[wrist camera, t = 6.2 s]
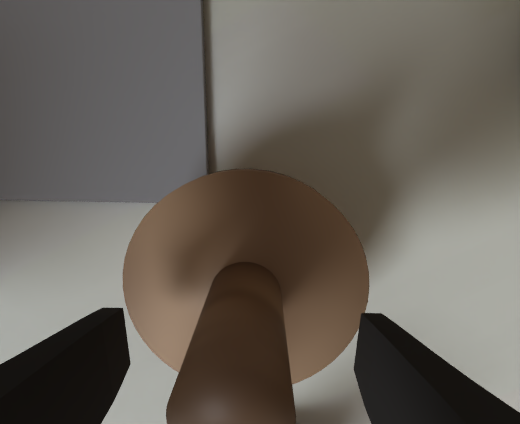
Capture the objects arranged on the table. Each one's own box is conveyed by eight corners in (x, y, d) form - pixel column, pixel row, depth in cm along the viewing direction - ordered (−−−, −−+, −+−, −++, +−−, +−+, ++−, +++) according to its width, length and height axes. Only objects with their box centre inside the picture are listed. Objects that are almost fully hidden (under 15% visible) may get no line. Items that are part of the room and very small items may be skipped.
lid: (154, 380, 12) (69, 566, 6) (110, 177, 9) (-74, 220, 4) (358, 369, 11) (437, 554, 6) (364, 159, 9) (494, 179, 4)
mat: (-78, 196, 13) (-89, 198, 12) (-201, -195, 9) (-222, -210, 9) (209, 201, 13) (207, 203, 12) (196, -192, 9) (193, -207, 9)
